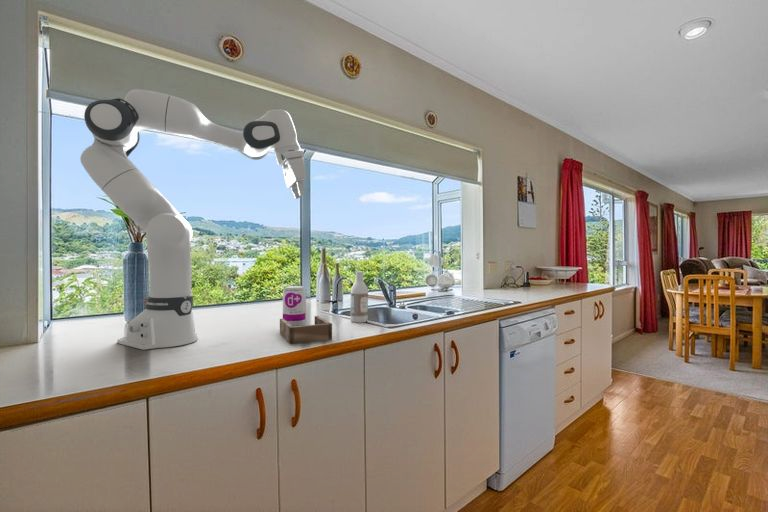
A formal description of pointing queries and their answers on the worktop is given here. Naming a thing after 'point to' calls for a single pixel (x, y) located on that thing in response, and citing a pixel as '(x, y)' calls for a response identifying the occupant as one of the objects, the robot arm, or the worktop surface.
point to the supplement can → (294, 305)
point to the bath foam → (359, 300)
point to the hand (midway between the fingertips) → (300, 196)
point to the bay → (306, 331)
